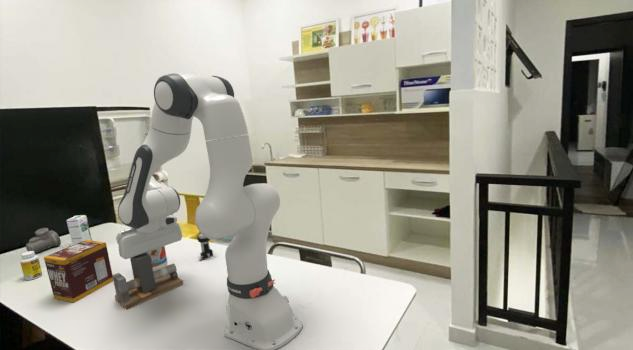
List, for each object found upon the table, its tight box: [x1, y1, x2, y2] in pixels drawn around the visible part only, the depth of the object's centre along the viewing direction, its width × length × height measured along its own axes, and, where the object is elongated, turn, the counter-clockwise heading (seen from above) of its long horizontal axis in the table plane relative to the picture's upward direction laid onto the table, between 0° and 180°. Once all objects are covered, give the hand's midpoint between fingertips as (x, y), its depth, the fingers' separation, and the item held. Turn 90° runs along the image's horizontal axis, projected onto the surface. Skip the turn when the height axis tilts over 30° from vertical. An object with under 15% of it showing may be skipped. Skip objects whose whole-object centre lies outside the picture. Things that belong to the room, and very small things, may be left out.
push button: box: [196, 233, 214, 261], centre depth 144 cm, size 7×5×10 cm
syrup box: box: [66, 214, 93, 245], centre depth 165 cm, size 6×6×14 cm
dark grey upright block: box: [129, 253, 156, 294], centre depth 118 cm, size 7×4×12 cm, turn 48°
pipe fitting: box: [25, 227, 62, 255], centre depth 164 cm, size 12×8×10 cm
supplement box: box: [43, 240, 114, 303], centre depth 124 cm, size 10×15×16 cm
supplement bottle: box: [19, 251, 43, 281], centre depth 136 cm, size 6×6×10 cm
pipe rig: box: [112, 263, 184, 311], centre depth 120 cm, size 10×19×10 cm, turn 138°
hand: (155, 260), depth 121 cm, fingers closed
